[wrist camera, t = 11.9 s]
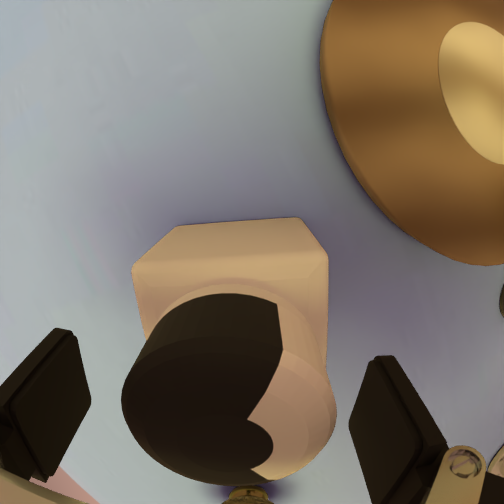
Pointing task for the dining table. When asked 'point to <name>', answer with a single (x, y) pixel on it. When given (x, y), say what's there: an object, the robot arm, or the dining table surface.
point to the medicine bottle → (232, 351)
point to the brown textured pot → (248, 495)
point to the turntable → (423, 115)
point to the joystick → (502, 302)
